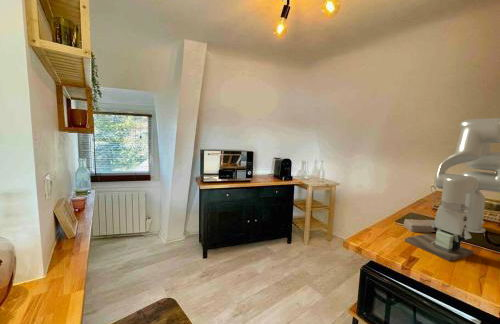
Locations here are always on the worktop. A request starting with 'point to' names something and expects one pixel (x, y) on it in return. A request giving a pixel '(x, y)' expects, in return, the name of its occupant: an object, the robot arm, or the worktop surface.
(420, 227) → the brick
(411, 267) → the worktop surface
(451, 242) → the block
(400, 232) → the worktop surface
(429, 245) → the board
